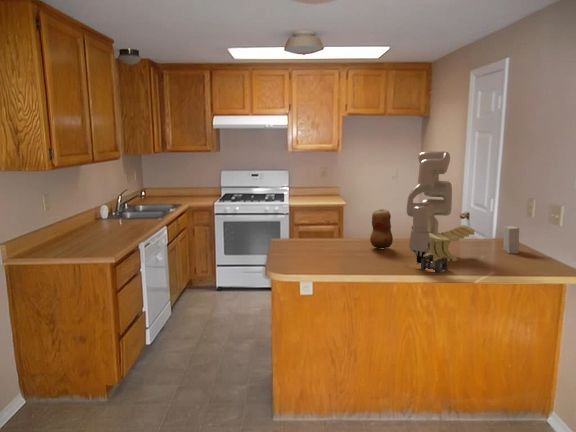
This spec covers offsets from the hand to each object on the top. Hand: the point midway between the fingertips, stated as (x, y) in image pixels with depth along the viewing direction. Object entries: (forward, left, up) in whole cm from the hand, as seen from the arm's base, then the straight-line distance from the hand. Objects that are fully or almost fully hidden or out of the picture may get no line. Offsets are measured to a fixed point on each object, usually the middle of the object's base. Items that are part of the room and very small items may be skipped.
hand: (419, 262), depth 244 cm
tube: (+8, 0, -2) cm, 8 cm away
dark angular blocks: (+12, 0, -2) cm, 13 cm away
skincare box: (+24, +60, -3) cm, 64 cm away
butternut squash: (-38, +19, -3) cm, 42 cm away
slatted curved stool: (0, +23, -3) cm, 23 cm away
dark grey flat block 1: (+4, 0, -2) cm, 5 cm away
